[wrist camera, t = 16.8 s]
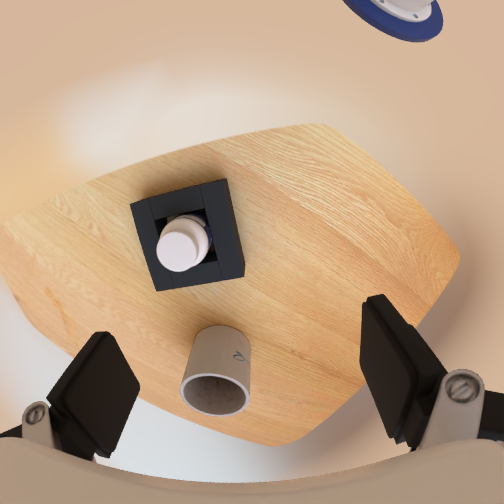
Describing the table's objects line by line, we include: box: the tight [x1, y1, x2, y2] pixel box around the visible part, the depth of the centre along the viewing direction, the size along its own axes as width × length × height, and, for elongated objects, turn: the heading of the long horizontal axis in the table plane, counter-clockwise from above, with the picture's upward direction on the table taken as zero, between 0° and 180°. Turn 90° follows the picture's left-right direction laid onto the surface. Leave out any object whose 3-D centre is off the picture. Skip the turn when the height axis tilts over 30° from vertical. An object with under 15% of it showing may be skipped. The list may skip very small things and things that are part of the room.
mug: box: [180, 325, 251, 417], centre depth 35 cm, size 12×9×10 cm
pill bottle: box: [157, 210, 213, 272], centre depth 29 cm, size 5×5×9 cm
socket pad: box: [130, 178, 245, 291], centre depth 31 cm, size 11×11×4 cm
